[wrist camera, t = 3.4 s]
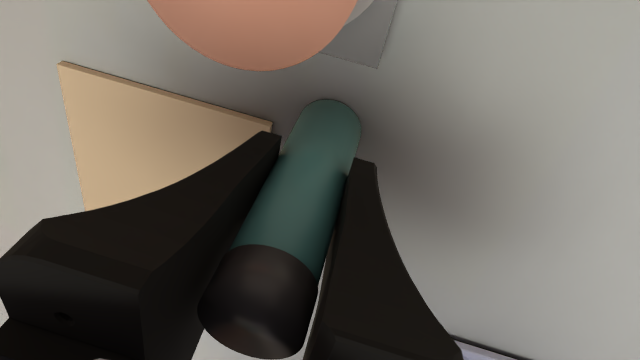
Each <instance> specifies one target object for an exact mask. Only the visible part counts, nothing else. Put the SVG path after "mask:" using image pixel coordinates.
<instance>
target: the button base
mask: <svg viewBox="0 0 640 360" xmlns="http://www.w3.org/2000/svg"><path fill="white" fill-rule="evenodd" d="M397 1H398V0H358V1H357V3H356V5H355V7H354V8H353V10H352V12H351V14H350V16H349V18H348V19H347V21H346V22H345V24H344V26H343V27H342V29H341V30H340V31H339V33H338V34H337V35H336V36H335V37H334V39H333V40H332V41H331V42H330V43H329V44H328V45H326V46H325V47H324V48H323V49H322V50H321V51H319V53H323V54H326V55H330V56H333V57H337V58H341V59H344V60H348V61H351V62H355V63H358V64H362V65H365V66H369V67H373V68H376V69H377V68H378V65H379V61H380V58H381V55H382V51H383V48H384V45H385V41H386V38H387V34H388V31H389V28H390V24H391V21H392V18H393V14H394V11H395V7H396V4H397Z"/></svg>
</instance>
